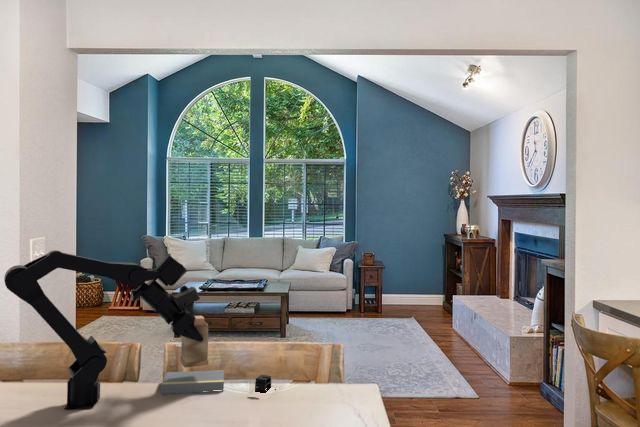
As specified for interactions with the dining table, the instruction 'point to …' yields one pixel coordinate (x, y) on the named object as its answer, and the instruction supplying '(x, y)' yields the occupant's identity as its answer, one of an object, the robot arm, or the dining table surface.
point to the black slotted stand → (263, 383)
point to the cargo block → (199, 320)
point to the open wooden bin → (195, 349)
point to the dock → (192, 381)
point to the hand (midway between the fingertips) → (199, 337)
